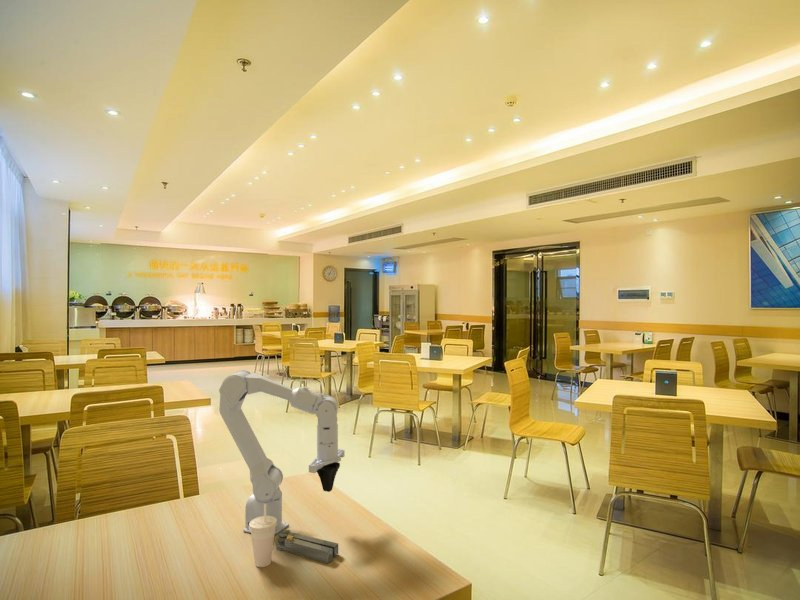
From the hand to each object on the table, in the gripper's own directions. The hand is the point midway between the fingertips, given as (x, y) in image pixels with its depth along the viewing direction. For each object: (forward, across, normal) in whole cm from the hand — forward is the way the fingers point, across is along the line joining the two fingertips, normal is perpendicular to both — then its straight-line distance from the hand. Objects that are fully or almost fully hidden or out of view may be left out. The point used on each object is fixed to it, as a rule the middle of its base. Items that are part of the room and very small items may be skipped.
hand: (327, 490), depth 123 cm
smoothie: (+10, -21, +4) cm, 24 cm away
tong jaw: (+10, -12, -2) cm, 15 cm away
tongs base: (+10, -13, -2) cm, 16 cm away
